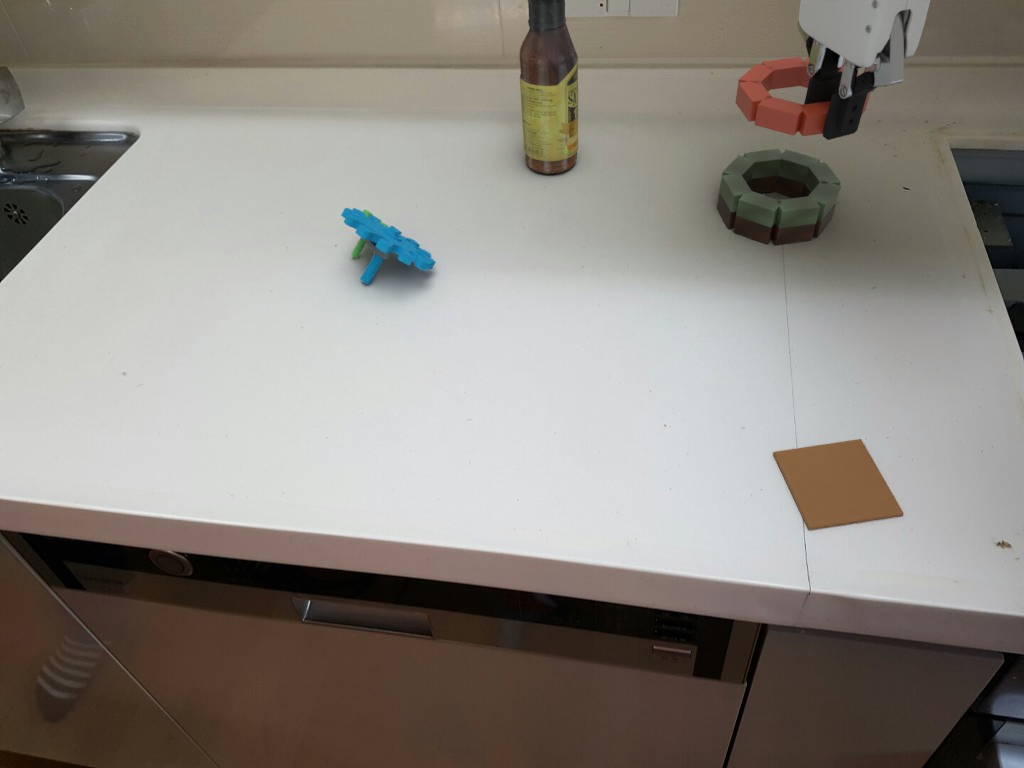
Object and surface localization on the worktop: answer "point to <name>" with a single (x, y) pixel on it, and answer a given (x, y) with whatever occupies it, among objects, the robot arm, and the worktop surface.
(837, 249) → the worktop surface
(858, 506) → the cork mat
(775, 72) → the terracotta ring
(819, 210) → the ring stack
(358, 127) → the worktop surface
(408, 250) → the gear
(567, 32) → the sauce bottle
